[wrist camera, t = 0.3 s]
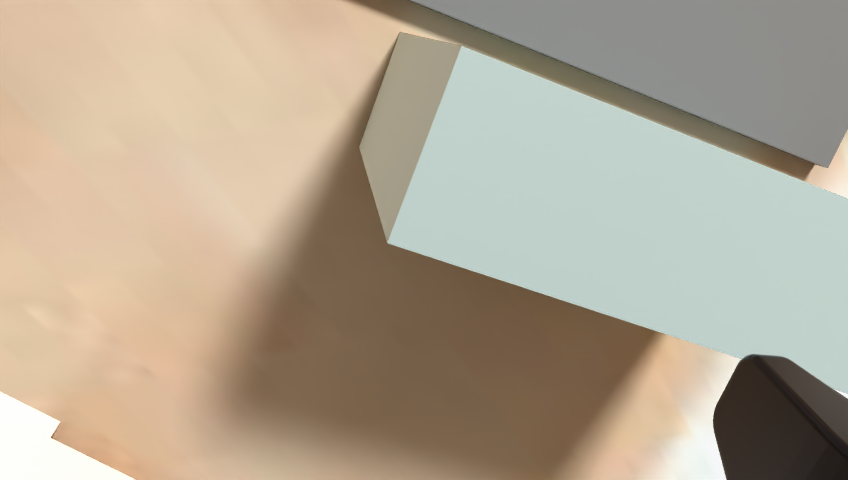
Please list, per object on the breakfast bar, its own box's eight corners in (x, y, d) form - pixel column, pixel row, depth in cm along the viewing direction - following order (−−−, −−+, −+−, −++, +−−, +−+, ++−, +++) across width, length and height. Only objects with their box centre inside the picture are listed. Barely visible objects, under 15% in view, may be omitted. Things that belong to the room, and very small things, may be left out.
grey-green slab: (702, 267, 25) (934, 422, 16) (358, 146, 23) (387, 243, 13) (749, 169, 24) (1024, 268, 15) (399, 31, 22) (461, 46, 12)
